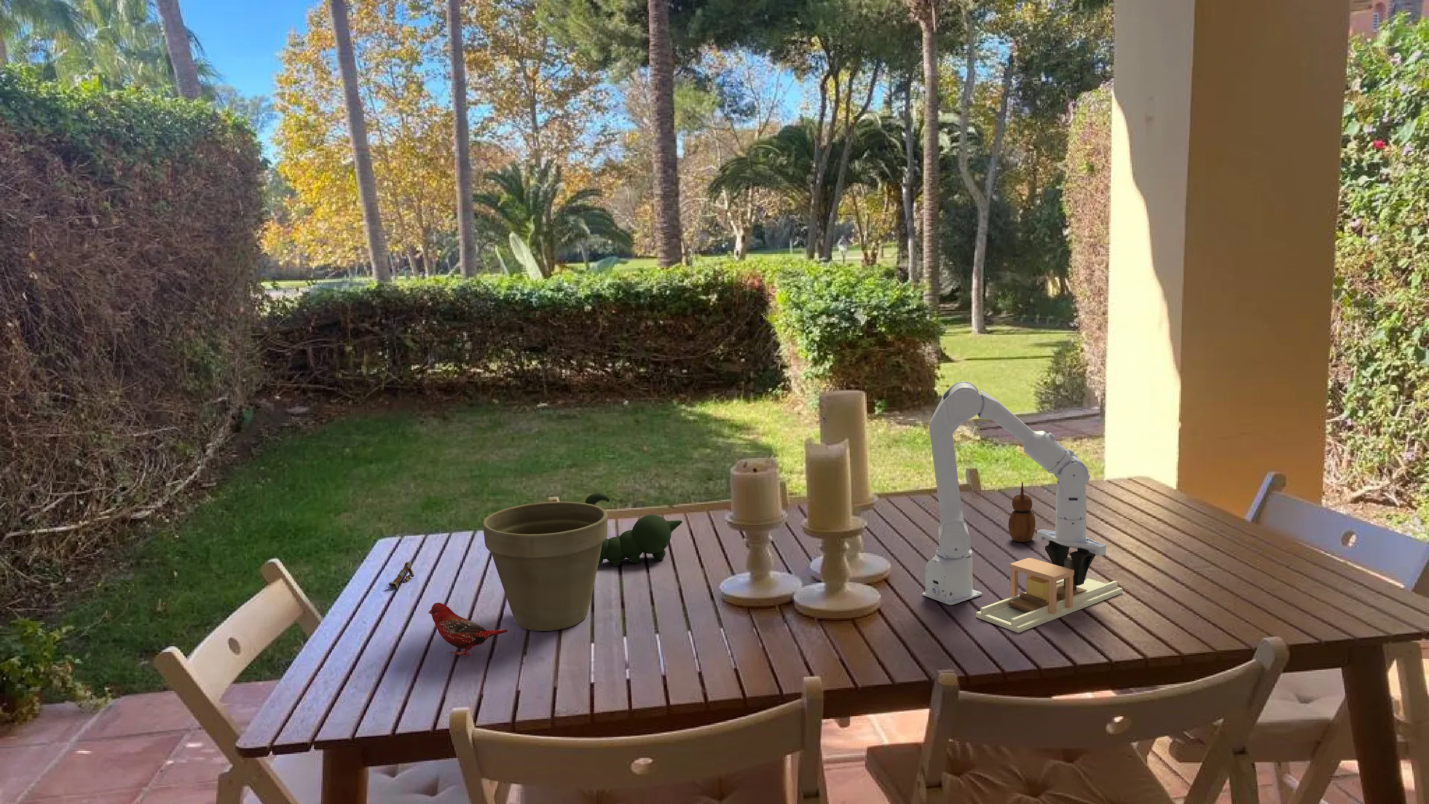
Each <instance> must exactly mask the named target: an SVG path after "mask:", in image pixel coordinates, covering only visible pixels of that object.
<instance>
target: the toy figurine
mask: <svg viewBox="0 0 1429 804" xmlns="http://www.w3.org/2000/svg"><path fill="white" fill-rule="evenodd" d="M601 501H606V502H608V503H609V502H611V499H610V497H608V496H607V495H606V494H604V493H601V492H596V493H592V494H590V495H588V496H587V497H586V499H585V501H584V503H586V504H592V505H596V504H598V503H599V502H601ZM681 524H683V521H682V520H681V519H680V520H677V519H675V520H666V519H665V518H664V517H662V516H660V515H658V514H646V515H644V516H641V517H640V518H638V520H636V522H635V523H634V524H633V527H632V529H628V530H625V531H623V532H622V533H620V535H619V536H613V537H610V538H606V539H605V541H604V542H603V543H602V548H601V553H600V558H599V563H598V565H601V564H603V562H604V560H607V561H609V562H611V563H612V565H613V566H614V567H620V566H621V564H622V562H623V561H624V560H626V559H629V561H630V562H631V563H632V564H637V563H639V562H640V559H641V555H642V554H647V555H651V556H653V558H654V560H657V561H659V560H660V561H661V560H663V559H664V558H665V557H666V553H667V552H666V550H665V549H666V548H667V547H668V545H670V542H671V538H672V533H673V532H674V531H675V530H676V529H677V528H678V527H680V526H681Z"/></svg>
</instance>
